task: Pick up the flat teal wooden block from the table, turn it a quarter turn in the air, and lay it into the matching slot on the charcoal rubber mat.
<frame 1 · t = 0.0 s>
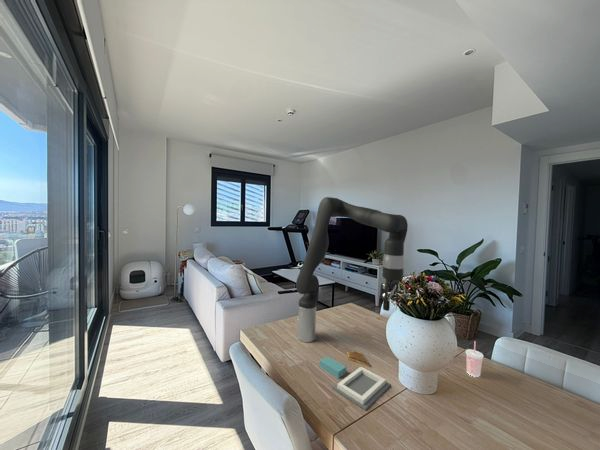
hand: (391, 307, 96), 29 cm above the table, tool pointing down, fingers open, 8 cm apart
shard: (359, 360, 112), on the table
teal block: (332, 370, 103), on the table
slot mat: (361, 387, 93), on the table
beverage cup: (473, 374, 103), on the table
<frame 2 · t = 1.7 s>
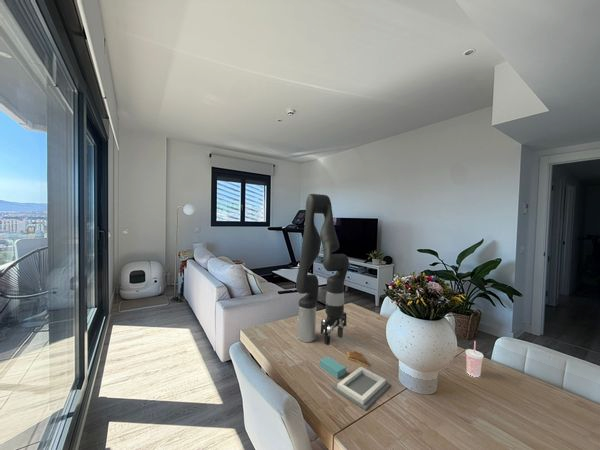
hand: (333, 340, 103), 12 cm above the table, tool pointing down, fingers open, 8 cm apart
nothing on the table moved.
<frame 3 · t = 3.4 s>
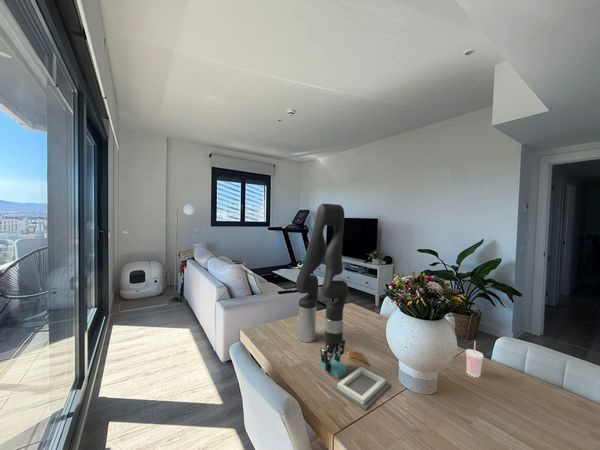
hand: (332, 368, 103), 1 cm above the table, tool pointing down, fingers closed on teal block, 5 cm apart
teal block: (332, 369, 103), on the table, touching gripper
everything else where it was.
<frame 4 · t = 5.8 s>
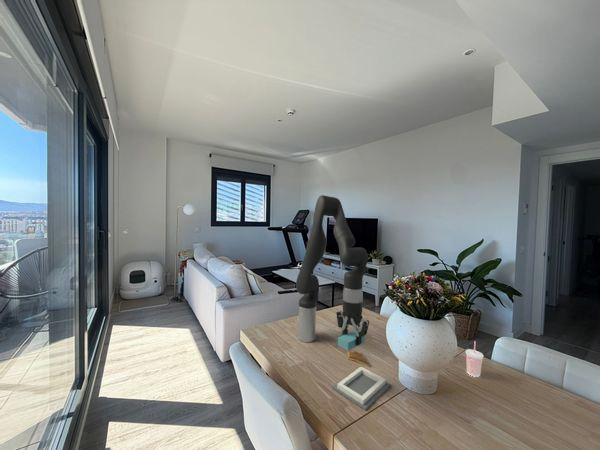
hand: (351, 341, 96), 15 cm above the table, tool pointing down, fingers closed on teal block, 5 cm apart
teal block: (351, 343, 96), point 15 cm above the table, touching gripper
everything else where it was.
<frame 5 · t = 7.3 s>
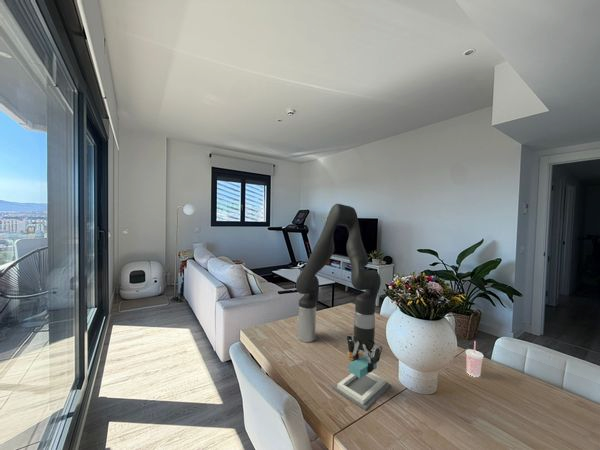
hand: (362, 367, 93), 7 cm above the table, tool pointing down, fingers closed on teal block, 5 cm apart
teal block: (362, 369, 93), point 7 cm above the table, touching gripper
everything else where it was.
when the fingers open (3 cm above the table, at t = 8.5 s): teal block drops 2 cm, resting on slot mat.
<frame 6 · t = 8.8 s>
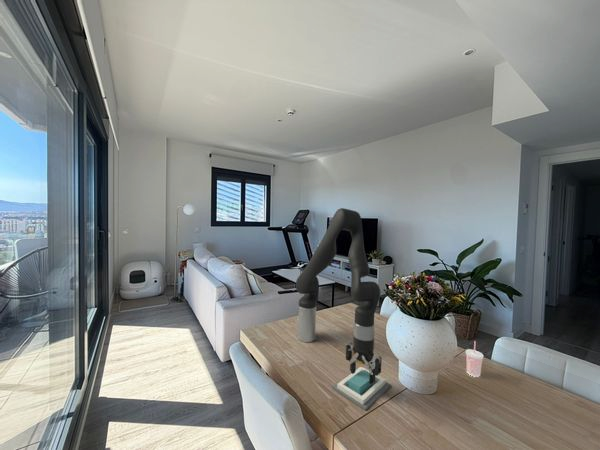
hand: (362, 377, 93), 4 cm above the table, tool pointing down, fingers open, 7 cm apart
teal block: (361, 385, 93), point 1 cm above the table, touching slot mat
everything else where it was.
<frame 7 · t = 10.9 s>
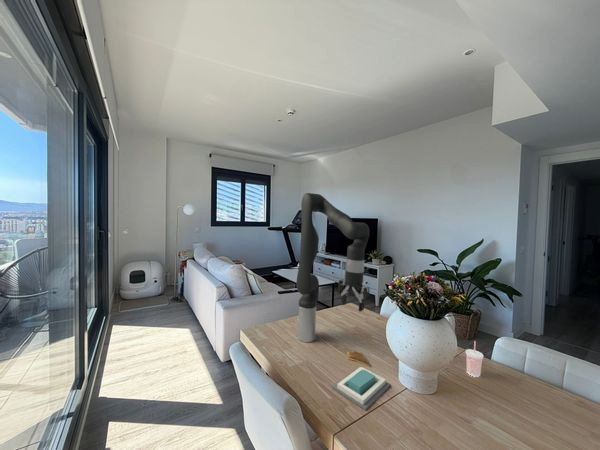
hand: (351, 307, 105), 26 cm above the table, tool pointing down, fingers open, 8 cm apart
nothing on the table moved.
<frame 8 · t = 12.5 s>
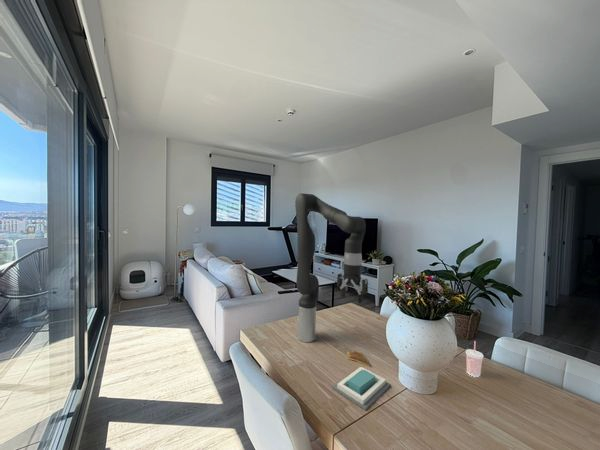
hand: (351, 300, 107), 28 cm above the table, tool pointing down, fingers open, 8 cm apart
nothing on the table moved.
at the end: teal block 0.0 cm off-centre on the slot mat, point 0.6 cm above the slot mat's base; teal block tilted 0°; the gripper is holding nothing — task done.
